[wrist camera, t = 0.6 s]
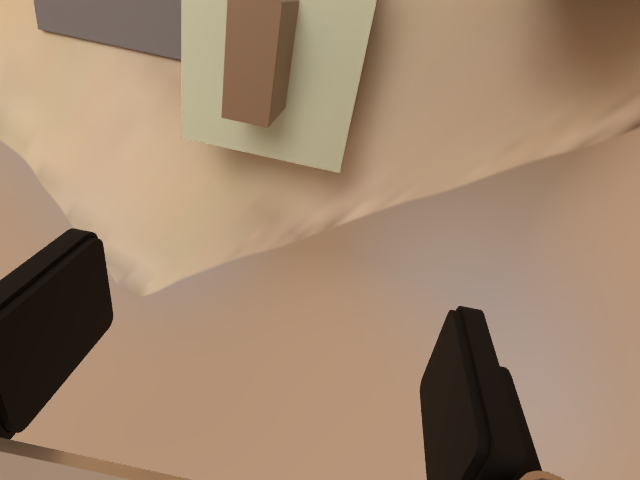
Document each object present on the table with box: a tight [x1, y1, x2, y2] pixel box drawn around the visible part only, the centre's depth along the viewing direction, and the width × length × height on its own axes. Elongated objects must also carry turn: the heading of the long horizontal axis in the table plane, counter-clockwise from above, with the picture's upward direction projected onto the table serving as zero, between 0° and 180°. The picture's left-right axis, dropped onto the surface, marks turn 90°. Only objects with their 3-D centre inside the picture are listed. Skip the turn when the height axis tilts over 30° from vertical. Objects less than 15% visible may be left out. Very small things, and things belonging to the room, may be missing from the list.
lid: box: [181, 0, 377, 173], centre depth 24 cm, size 13×11×7 cm
